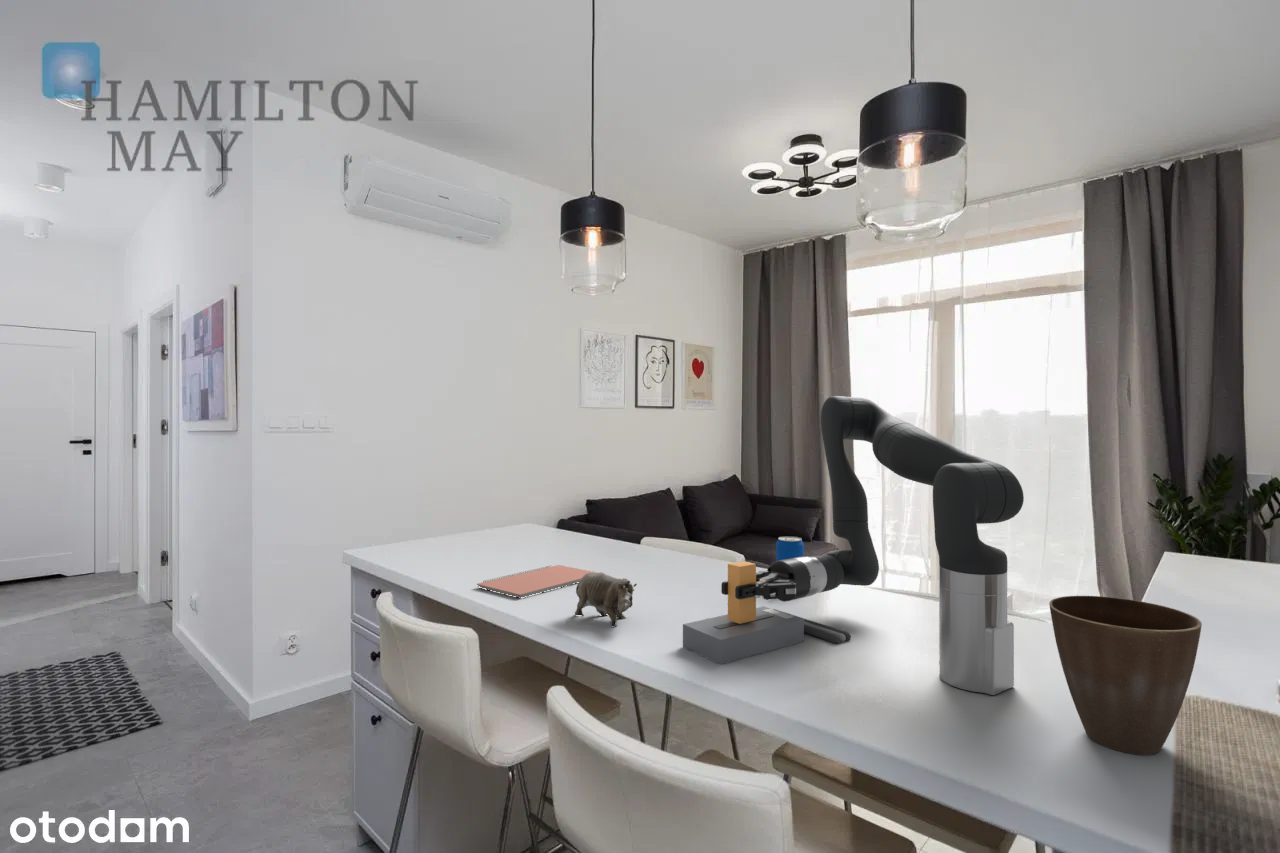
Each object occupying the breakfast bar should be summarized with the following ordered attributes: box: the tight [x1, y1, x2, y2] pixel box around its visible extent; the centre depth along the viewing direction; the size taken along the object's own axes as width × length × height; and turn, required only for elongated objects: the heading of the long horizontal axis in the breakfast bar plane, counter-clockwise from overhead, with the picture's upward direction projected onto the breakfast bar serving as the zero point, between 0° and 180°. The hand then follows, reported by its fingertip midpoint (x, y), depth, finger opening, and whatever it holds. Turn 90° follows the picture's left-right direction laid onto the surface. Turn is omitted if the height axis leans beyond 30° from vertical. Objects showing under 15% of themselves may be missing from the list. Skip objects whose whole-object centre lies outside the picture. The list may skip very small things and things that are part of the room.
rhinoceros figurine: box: [574, 572, 638, 626], centre depth 128 cm, size 8×14×15 cm
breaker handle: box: [727, 560, 757, 624], centre depth 113 cm, size 3×4×10 cm
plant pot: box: [1048, 595, 1203, 756], centre depth 78 cm, size 15×15×16 cm
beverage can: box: [775, 536, 805, 561], centre depth 153 cm, size 6×6×12 cm
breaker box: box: [682, 606, 805, 665], centre depth 113 cm, size 10×20×4 cm, turn 124°
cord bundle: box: [773, 608, 852, 644], centre depth 120 cm, size 19×10×1 cm, turn 34°
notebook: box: [476, 564, 599, 598], centre depth 159 cm, size 27×17×2 cm, turn 141°
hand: (730, 590), depth 111 cm, fingers closed on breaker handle, 3 cm apart
